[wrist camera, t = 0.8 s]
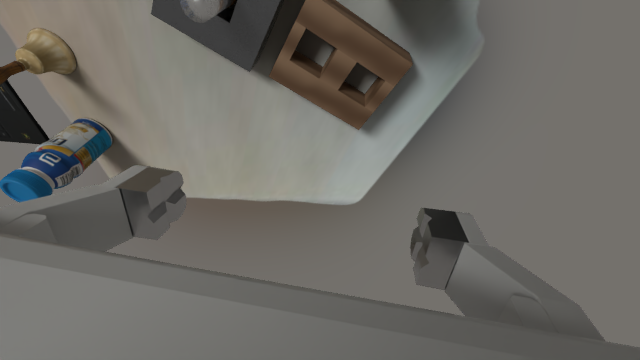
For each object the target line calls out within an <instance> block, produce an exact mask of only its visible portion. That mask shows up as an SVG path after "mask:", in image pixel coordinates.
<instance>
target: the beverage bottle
mask: <svg viewBox="0 0 640 360" xmlns="http://www.w3.org/2000/svg"><path fill="white" fill-rule="evenodd" d="M111 145H112V137H111V134H110V133H109V131H108V130H107V129H106V128H105V127H104V126H103V125H101V124H100V123H98V122H96V121H94V120H92V119H88V118H80V119H77V120H76V121H74V122H73V123H72V124H71V125H70V126H68V127H67V128H65V129H64V130H63V131H61V132H60V133H58V134H57V135H55V136H54V137H53V138H51V139H50V140H48V141H47V142H45V143H42V144H41V145H40V146H38V147H37V148H36V149H35V152H31V153H29V154H28V155H27V156H26V157H25V159H24V160H23V163H22V166H21V168H20V169H16V170H14V171H12V172H11V173H10V174H8V175H7V176H5V177H4V178H3V179H2V180H1V181H0V188H1V189H2V191H3V192H4V193H5V194H6V195H8V196H9V197H10V198H12V199H14V200H16V201H18V202H24V201H28V200H32V199H37V198H41V197H45V196H49V195H51V194H52V192H53V189H58V188H61V187H64V186H66V185H68V184H70V183H71V182H72V180H73V178H76V177H78V176H79V175H81V174H82V173H83V172H84V170H85V169H86V168H87V167H88V166H89V165H90V164H92V163H93V162H94V161H95V160H96V159H97V158H98V157H99V156H100V155H101V154H102V153H104V152H105V151H106V150H107V149H108V148H109V147H110V146H111Z"/></svg>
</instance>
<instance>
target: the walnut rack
mask: <svg viewBox="0 0 640 360" xmlns="http://www.w3.org/2000/svg"><path fill="white" fill-rule="evenodd" d="M306 28H307V29H308V30H310V31H311V32H313V33H314V34H316V35H317V36H319V37H320V38H322V39H323V40H325V41H326V42H328V43H329V44H331V45H332V46H334V47H335V48H334V50H333V51H332V53H331V55H330V56H329V58H328V59H327V61H326V63H325V64H324V66H323V67H322V66H320V65H318V64H317V63H315V62H314V61H312V60H311V59H309V58H307V57H306V56H304V55H303V54H301V53H300V52H298V51H296V50H295V49H296V47H297V45H298V43H299V41H300V39H301V37H302V35H303V33H304V31H305V29H306ZM357 62H358V63H359V64H361V65H362V66H364V67H365V68H367V69H368V70H370V71H371V72H373V73H374V74H376V75H377V76H378V78H377V79H376V80H375V82H374V83H373V84H372V85H371V87H370V88H369V89H368V91H367V92H366V93H365V94H364V93H363V92H361V91H359V90H358V89H356V88H355V87H353V86H352V85H350V84H348V83H347V82H345V81H344V80H345V79H346V77H347V76H348V74H349V73H350V72H351V70H352V69H353V67H354V66H355V64H356V63H357ZM412 65H413V63H412V60H411V57H410V54H409V52H407V51H406V50H405V49H403V48H402V47H400V46H399V45H398V44H396V43H395V42H393V41H392V40H391V39H389V38H388V37H386V36H385V35H384V34H382V33H381V32H379V31H378V30H377V29H375V28H374V27H372V26H371V25H370V24H368V23H367V22H365V21H364V20H363V19H361V18H360V17H358V16H357V15H356V14H354V13H353V12H351V11H350V10H349V9H347V8H346V7H344V6H343V5H342V4H340V3H339V2H337V1H336V0H305V2H304V4H303V6H302V8H301V11H300V13H299V15H298V17H297V19H296V21H295V23H294V25H293V27H292V29H291V31H290V33H289V35H288V38H287V40H286V42H285V44H284V46H283V48H282V50H281V52H280V54H279V56H278V58H277V60H276V62H275V65H274V67H273V69H272V71H271V73H270V75H269V77H270V78H272V79H273V80H275V81H277V82H279V83H280V84H282V85H284V86H285V87H287V88H289V89H290V90H292V91H294V92H295V93H297V94H299V95H301V96H302V97H304V98H306V99H307V100H309V101H311V102H312V103H314V104H316V105H317V106H319V107H321V108H322V109H324V110H326V111H328V112H329V113H331V114H333V115H334V116H336V117H338V118H339V119H341V120H343V121H344V122H346V123H348V124H350V125H351V126H353V127H355V128H356V129H358V130H359V129H360V128H361V127H362V125H363V124H364V123H365V122H366V121H367V119H368V118H369V117H370V116H371V115H372V113H373V112H374V111H375V110H376V109H377V107H378V106H379V105H380V104H381V102H382V101H383V100H384V99H385V98H386V96H387V95H388V94H389V93H390V92H391V90H392V89H393V88H394V87H395V85H396V84H397V83H398V82H399V81H400V79H401V78H402V77H403V76H404V75H405V73H406V72H407V71H408V70H409V68H410V67H411V66H412Z"/></svg>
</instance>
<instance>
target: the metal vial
mask: <svg viewBox="0 0 640 360" xmlns="http://www.w3.org/2000/svg"><path fill="white" fill-rule="evenodd" d="M236 1H237V0H180V4H181V7H182V9H183V11H184V13H185V14H186V15H187V16H188V17H189V18H190V19H191V20H193V21H195V22H198V23H204V22H206V21H208V20H209V19H211V18H212V17H214V16H215V15H217V14H218V13H220V12H221V11H223V10H224V9H226V8H228V7H230V6H232V5H233V4H234V3H235V2H236Z"/></svg>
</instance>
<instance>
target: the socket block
mask: <svg viewBox="0 0 640 360" xmlns="http://www.w3.org/2000/svg"><path fill="white" fill-rule="evenodd" d="M283 2H284V0H237V3H236V6H235V9H234V11H233V10H232V9H230V8H229V7H228V8H226V9H224V10H223V11H221V12H220V13H218V14H217V15H215V16H214V17H212V18H211V19H209V20H208V21H206V22H204V23H198V22H195V21H193V20H191V19H190V18H189V17H188V16H187V15H186V14H185V13H184V11H183V9H182V7H181V4H180V0H153V6H152V12H151V14H152V15H153V16H155V17H157V18H159V19H160V20H162V21H164V22H165V23H167V24H169V25H171V26H172V27H174V28H176V29H177V30H179V31H181V32H182V33H184V34H186V35H188V36H189V37H191V38H193V39H194V40H196V41H198V42H200V43H201V44H203V45H205V46H206V47H208V48H210V49H212V50H213V51H215V52H217V53H218V54H220V55H222V56H223V57H225V58H227V59H229V60H230V61H232V62H234V63H235V64H237V65H239V66H241V67H242V68H244V69H246V70H247V71H249V72H250V71H251V69H252V68H253V67H254V65H255V64H256V63H257V61H258V59H259V57H260V55H261V52H262V50H263V48H264V46H265V43H266V41H267V39H268V36H269V34H270V32H271V30H272V27H273V25H274V23H275V20H276V18H277V16H278V14H279V11H280V9H281V7H282V4H283Z"/></svg>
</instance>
